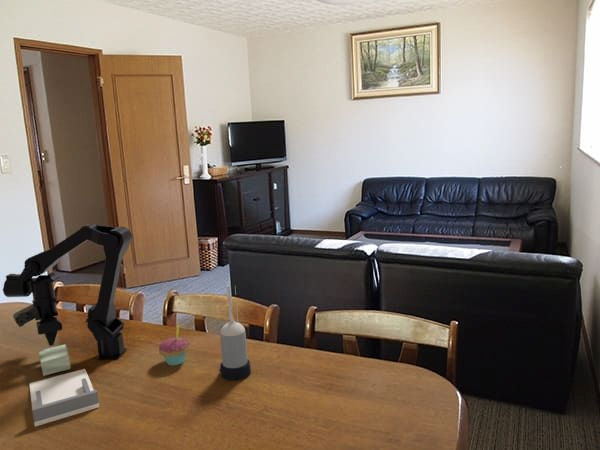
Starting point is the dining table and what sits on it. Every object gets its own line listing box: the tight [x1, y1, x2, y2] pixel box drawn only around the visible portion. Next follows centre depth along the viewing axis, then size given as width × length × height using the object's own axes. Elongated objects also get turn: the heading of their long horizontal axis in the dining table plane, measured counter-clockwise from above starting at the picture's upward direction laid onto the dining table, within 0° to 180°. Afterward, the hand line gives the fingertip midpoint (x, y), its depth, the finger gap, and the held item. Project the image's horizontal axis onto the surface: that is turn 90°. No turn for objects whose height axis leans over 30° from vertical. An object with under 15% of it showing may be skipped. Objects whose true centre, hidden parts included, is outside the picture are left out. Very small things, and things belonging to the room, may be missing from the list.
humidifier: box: [218, 284, 252, 382], centre depth 132 cm, size 8×8×25 cm
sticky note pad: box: [38, 344, 71, 377], centre depth 142 cm, size 9×7×5 cm
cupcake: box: [158, 322, 191, 366], centre depth 142 cm, size 9×8×12 cm
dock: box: [28, 368, 100, 427], centre depth 127 cm, size 24×14×5 cm, turn 31°
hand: (51, 345), depth 150 cm, fingers closed
